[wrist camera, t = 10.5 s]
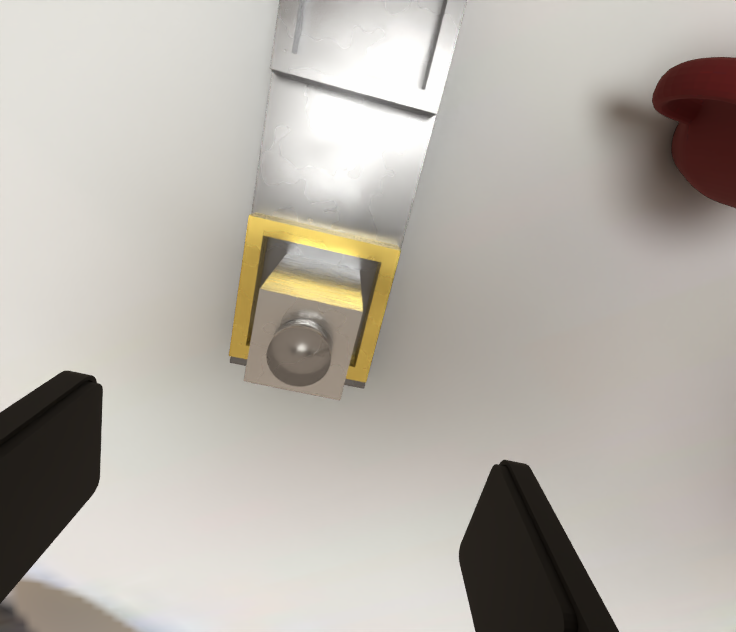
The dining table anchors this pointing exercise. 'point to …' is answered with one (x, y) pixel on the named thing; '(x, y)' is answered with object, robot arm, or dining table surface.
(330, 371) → the knobbed metal block
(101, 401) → the robot arm
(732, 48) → the dining table surface
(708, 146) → the mug
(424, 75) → the grey flat elongated piece
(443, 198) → the dining table surface
